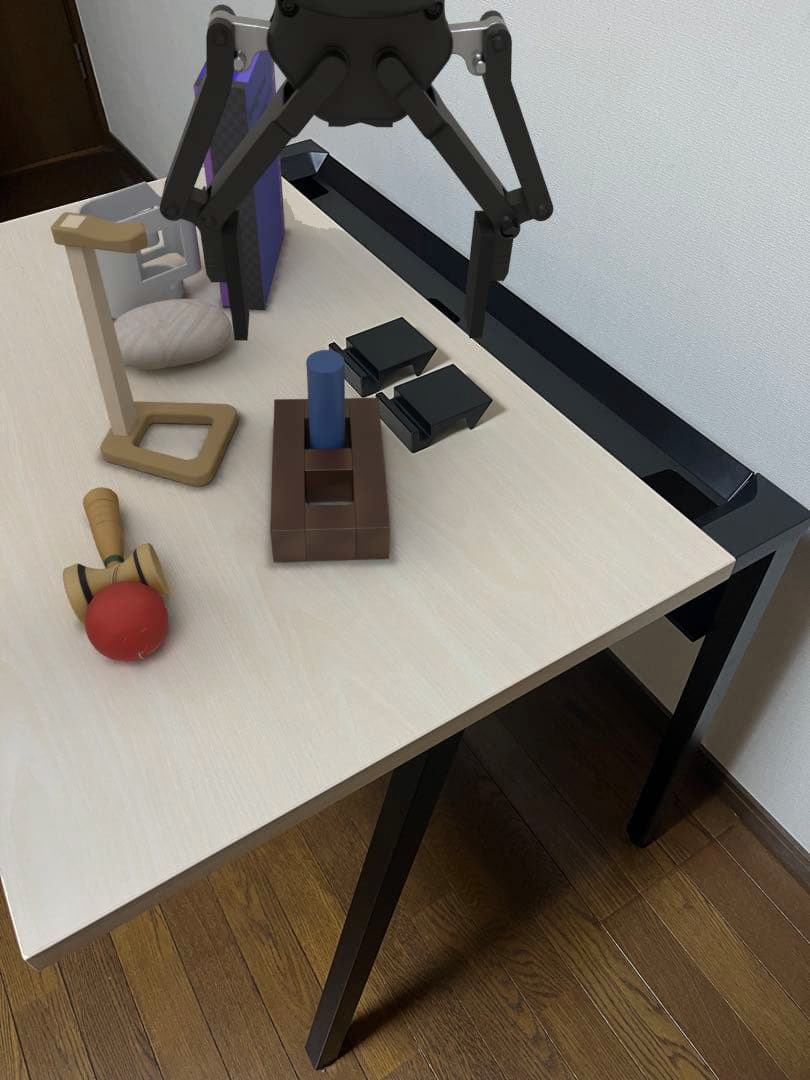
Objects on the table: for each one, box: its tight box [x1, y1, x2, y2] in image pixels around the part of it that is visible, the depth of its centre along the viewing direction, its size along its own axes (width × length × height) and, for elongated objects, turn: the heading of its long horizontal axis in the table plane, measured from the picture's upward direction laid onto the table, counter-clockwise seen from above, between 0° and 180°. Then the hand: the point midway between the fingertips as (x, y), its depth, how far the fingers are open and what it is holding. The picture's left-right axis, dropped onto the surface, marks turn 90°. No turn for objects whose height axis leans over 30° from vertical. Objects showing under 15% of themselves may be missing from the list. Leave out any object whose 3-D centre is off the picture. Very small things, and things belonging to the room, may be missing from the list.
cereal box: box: [193, 51, 286, 311], centre depth 95 cm, size 17×5×24 cm, turn 178°
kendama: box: [62, 486, 170, 662], centre depth 70 cm, size 8×6×18 cm
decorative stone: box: [113, 298, 233, 370], centre depth 91 cm, size 13×9×5 cm
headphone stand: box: [50, 211, 239, 487], centre depth 75 cm, size 10×11×22 cm
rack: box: [269, 397, 391, 563], centre depth 78 cm, size 10×17×4 cm, turn 5°
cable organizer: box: [76, 181, 203, 321], centre depth 94 cm, size 7×12×12 cm, turn 134°
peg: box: [305, 349, 346, 449], centre depth 78 cm, size 3×3×12 cm
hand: (358, 326), depth 52 cm, fingers open, 13 cm apart
